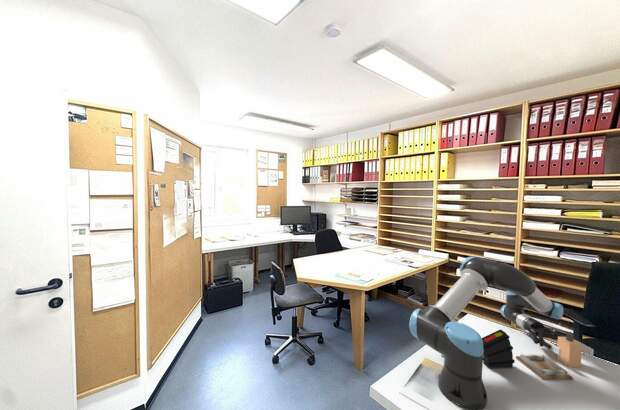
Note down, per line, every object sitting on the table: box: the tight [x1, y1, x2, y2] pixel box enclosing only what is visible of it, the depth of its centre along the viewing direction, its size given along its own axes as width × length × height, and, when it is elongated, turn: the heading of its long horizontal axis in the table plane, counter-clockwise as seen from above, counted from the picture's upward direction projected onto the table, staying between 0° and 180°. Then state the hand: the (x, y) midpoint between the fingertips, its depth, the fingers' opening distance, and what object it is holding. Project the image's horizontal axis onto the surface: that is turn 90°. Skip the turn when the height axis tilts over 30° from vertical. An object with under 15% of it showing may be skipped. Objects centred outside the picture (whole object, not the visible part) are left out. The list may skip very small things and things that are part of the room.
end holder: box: [515, 354, 574, 381], centre depth 100 cm, size 12×12×2 cm
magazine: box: [481, 328, 516, 369], centre depth 101 cm, size 4×13×15 cm, turn 92°
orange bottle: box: [556, 331, 583, 367], centre depth 103 cm, size 5×5×13 cm
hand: (576, 352), depth 101 cm, fingers open, 13 cm apart
